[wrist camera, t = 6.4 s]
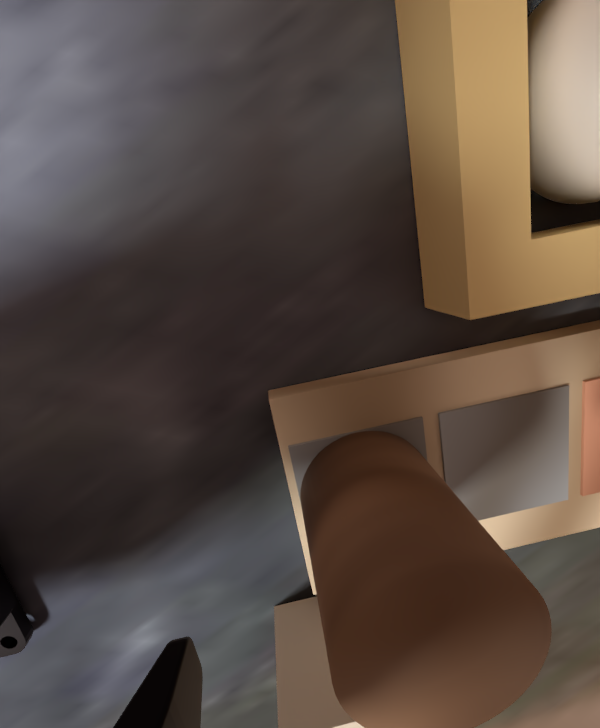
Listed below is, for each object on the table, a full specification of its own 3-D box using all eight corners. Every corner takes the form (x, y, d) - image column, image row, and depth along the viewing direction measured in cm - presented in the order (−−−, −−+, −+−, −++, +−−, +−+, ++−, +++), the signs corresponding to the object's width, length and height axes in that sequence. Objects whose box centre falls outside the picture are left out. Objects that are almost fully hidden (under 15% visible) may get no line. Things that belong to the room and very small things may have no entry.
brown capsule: (311, 559, 12) (347, 762, 7) (289, 446, 11) (314, 593, 6) (433, 532, 12) (549, 710, 7) (424, 418, 11) (552, 537, 6)
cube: (295, 683, 15) (307, 834, 11) (274, 604, 13) (278, 740, 10) (395, 658, 15) (441, 799, 11) (382, 578, 14) (429, 702, 10)
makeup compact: (310, 575, 13) (313, 597, 12) (268, 390, 11) (268, 401, 10) (786, 463, 14) (821, 477, 13) (822, 272, 12) (867, 273, 11)
